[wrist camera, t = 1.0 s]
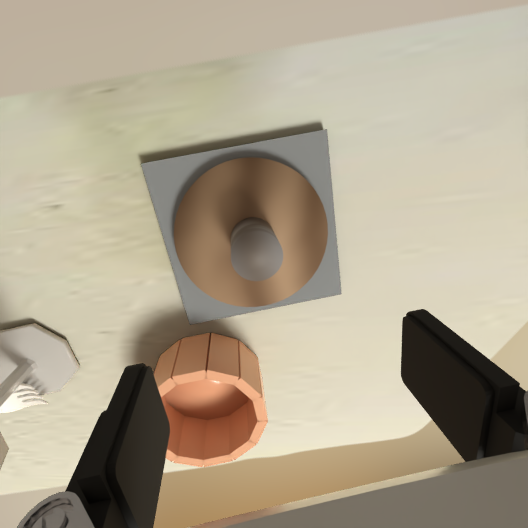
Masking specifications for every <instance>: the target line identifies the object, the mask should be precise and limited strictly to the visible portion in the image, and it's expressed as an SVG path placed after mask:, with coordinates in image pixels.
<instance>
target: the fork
mask: <svg viewBox="0 0 528 528" xmlns="http://www.w3.org/2000/svg"><path fill="white" fill-rule="evenodd" d="M27 388H28V389H27ZM20 389H24V390H22V391H19V392H14V393H13V394H12V395H11V396H10V397H9V398H8V399H7V401H6V402H5V403H4V404H3V405H2V406H1V407H0V413H7V412H13V411H16V410H19V409H22V408H25V407H28V406H32V405H36V404H48V402H46V401H44V400H41V399H43V397H42V396H40V395H37V394H39V393H38V392H37V391H35V390H32V389H35V388H34V387H32V386H30V385H28V384H25V383H22V384H21V385H20V386H19V387H18V388H17V389H16V390H20ZM16 390H15V391H16ZM28 393H36V394H28ZM23 394H28V395H25V396H24V395H23ZM31 398H41V399H31ZM26 399H27V400H26Z"/></svg>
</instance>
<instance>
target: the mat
mask: <svg viewBox="0 0 528 528" xmlns="http://www.w3.org/2000/svg"><path fill="white" fill-rule="evenodd" d="M246 157H255V158H264V159H269V160H273V161H276V162H279V163H282V164H284V165H286V166H288V167H290V168H292V169H293V170H295V171H296V172H298V173H299V174H300V175H302V176H303V177H304V178H305V179H306V180H307V181H308V182H309V183H310V184H311V186H312V187H313V188H314V189H315V191H316V193H317V194H318V196H319V197H320V200H321V202H322V204H323V206H324V210H325V213H326V217H327V223H328V238H327V245H326V250H325V253H324V256H323V259H322V261H321V263H320V265H319V267H318V269H317V271H316V272H315V274H314V275H313V276H312V278H311V279H310V280H309V281H308V282H307V283H306V284H305V285H304V286H303V287H302V288H301V289H300V290H298V291H297V292H296V293H294V294H293V295H291V296H289V297H288V298H286V299H284V300H281V301H279V302H276V303H273V304H270V305H266V306H259V307H241V306H234V305H230V304H226V303H223V302H221V301H218V300H216V299H214V298H212V297H210V296H209V295H207V294H206V293H204V292H203V291H202V290H201V289H199V288H198V287H197V286H196V285H195V284H194V283H193V282H192V281H191V280H190V278H189V277H188V276H187V274H186V273H185V271H184V269H183V268H182V266H181V264H180V261H179V259H178V256H177V253H176V248H175V243H174V223H175V218H176V214H177V211H178V208H179V205H180V203H181V201H182V199H183V197H184V195H185V194H186V192H187V191H188V190H189V188H190V187H191V186H192V185H193V183H194V182H195V181H196V180H197V179H198V178H199V177H200V176H202V175H203V174H204V173H205V172H207V171H208V170H210V169H211V168H213V167H215V166H217V165H219V164H221V163H224V162H226V161H230V160H233V159H238V158H246ZM141 166H142V169H143V173H144V176H145V179H146V182H147V186H148V189H149V192H150V196H151V199H152V202H153V205H154V209H155V212H156V215H157V219H158V222H159V225H160V228H161V232H162V235H163V238H164V242H165V245H166V248H167V251H168V255H169V258H170V261H171V265H172V268H173V271H174V274H175V278H176V281H177V284H178V288H179V291H180V294H181V297H182V301H183V304H184V307H185V310H186V314H187V317H188V320H189V324H190V325H191V324H196V323H201V322H206V321H211V320H216V319H221V318H226V317H231V316H236V315H241V314H246V313H251V312H256V311H260V310H265V309H270V308H275V307H280V306H285V305H290V304H295V303H300V302H305V301H310V300H315V299H320V298H325V297H330V296H335V295H340V294H341V283H340V271H339V260H338V249H337V237H336V226H335V215H334V204H333V192H332V181H331V170H330V158H329V147H328V136H327V129H325V130H320V131H314V132H309V133H303V134H298V135H293V136H287V137H282V138H276V139H271V140H266V141H260V142H255V143H249V144H244V145H239V146H233V147H228V148H222V149H217V150H212V151H206V152H201V153H195V154H190V155H185V156H179V157H174V158H168V159H163V160H158V161H152V162H147V163H142V164H141Z"/></svg>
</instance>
